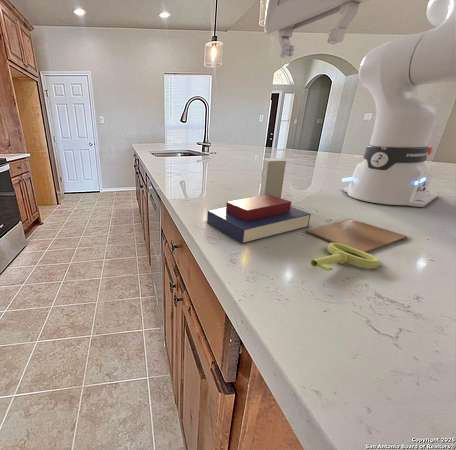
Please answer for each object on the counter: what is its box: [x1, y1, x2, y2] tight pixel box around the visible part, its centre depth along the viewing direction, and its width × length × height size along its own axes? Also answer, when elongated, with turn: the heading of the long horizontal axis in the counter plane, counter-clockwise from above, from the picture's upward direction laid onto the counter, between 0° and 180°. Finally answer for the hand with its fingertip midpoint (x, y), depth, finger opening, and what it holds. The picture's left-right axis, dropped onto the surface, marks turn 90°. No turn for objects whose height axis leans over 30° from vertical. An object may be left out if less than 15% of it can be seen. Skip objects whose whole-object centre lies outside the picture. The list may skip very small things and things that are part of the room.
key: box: [309, 242, 381, 272], centre depth 38 cm, size 7×12×2 cm, turn 132°
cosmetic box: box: [259, 157, 287, 199], centre depth 66 cm, size 6×4×12 cm
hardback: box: [206, 206, 312, 244], centre depth 54 cm, size 18×12×3 cm
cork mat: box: [306, 218, 408, 253], centre depth 48 cm, size 14×10×1 cm
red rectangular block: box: [225, 195, 292, 221], centre depth 53 cm, size 12×6×2 cm, turn 113°
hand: (308, 50), depth 44 cm, fingers open, 8 cm apart
